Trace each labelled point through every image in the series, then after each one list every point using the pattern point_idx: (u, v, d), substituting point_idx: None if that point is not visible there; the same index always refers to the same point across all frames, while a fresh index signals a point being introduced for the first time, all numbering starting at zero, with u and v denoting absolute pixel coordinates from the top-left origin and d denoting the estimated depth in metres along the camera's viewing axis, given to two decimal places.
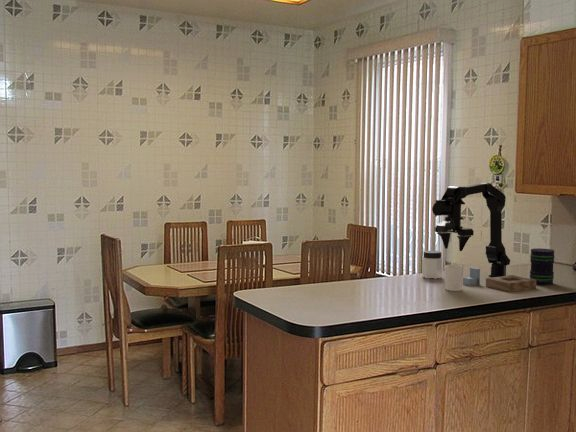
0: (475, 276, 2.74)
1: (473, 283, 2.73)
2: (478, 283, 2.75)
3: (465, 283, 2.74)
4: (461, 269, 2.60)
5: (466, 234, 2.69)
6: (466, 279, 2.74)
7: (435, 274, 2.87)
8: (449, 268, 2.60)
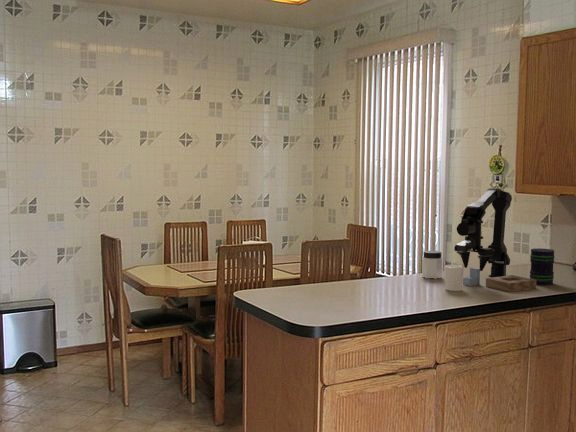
0: (475, 276, 2.74)
1: (473, 283, 2.73)
2: (478, 283, 2.75)
3: (465, 283, 2.74)
4: (461, 269, 2.60)
5: (487, 254, 2.66)
6: (466, 279, 2.74)
7: (435, 274, 2.87)
8: (449, 268, 2.60)
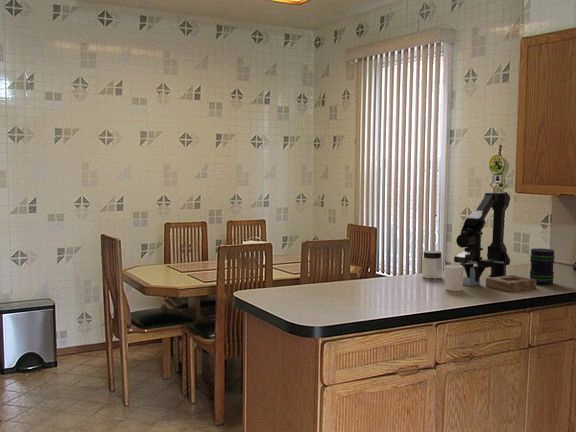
0: None
1: (473, 283, 2.73)
2: (478, 283, 2.75)
3: (465, 283, 2.74)
4: (461, 269, 2.60)
5: (486, 266, 2.66)
6: (466, 279, 2.74)
7: (435, 274, 2.87)
8: (449, 268, 2.60)
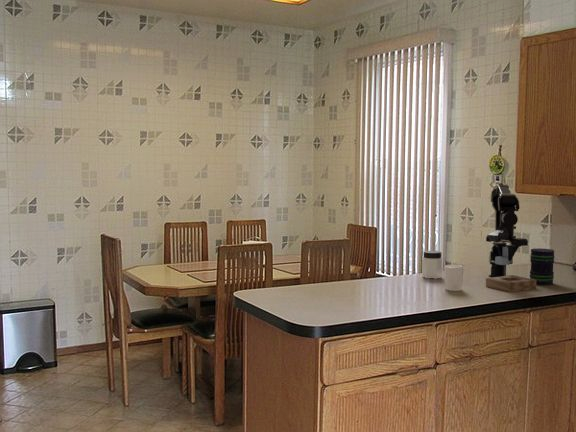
0: None
1: (506, 262, 2.67)
2: (511, 262, 2.68)
3: (497, 262, 2.68)
4: (461, 269, 2.60)
5: (520, 244, 2.60)
6: (499, 258, 2.67)
7: (435, 274, 2.87)
8: (449, 268, 2.60)
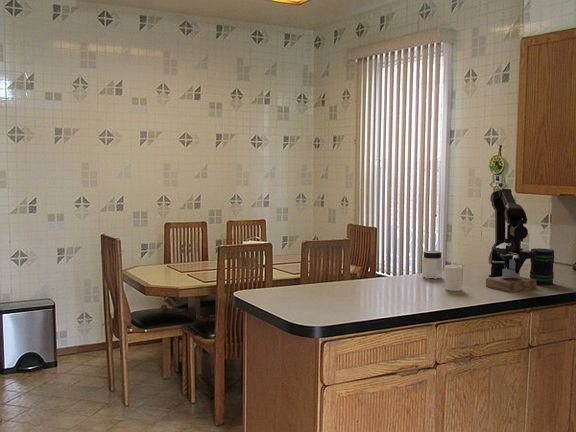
0: None
1: (513, 275, 2.66)
2: (518, 275, 2.68)
3: (505, 275, 2.67)
4: (461, 269, 2.60)
5: (528, 257, 2.59)
6: (506, 271, 2.67)
7: (435, 274, 2.87)
8: (449, 268, 2.60)
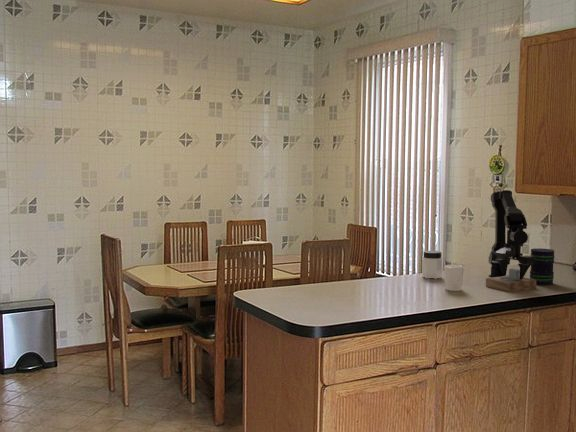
0: (515, 277, 2.68)
1: None
2: None
3: None
4: (461, 269, 2.60)
5: (528, 262, 2.59)
6: None
7: (435, 274, 2.87)
8: (449, 268, 2.60)
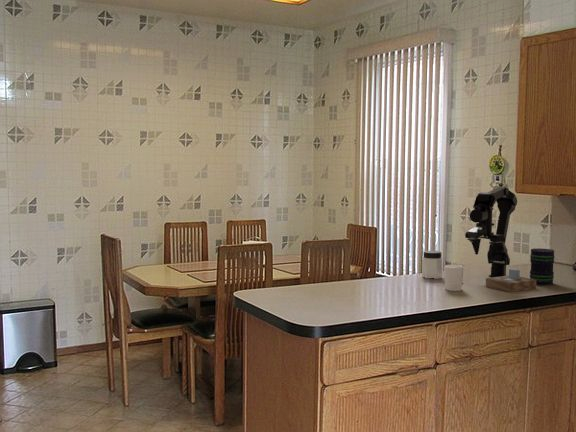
0: (515, 277, 2.68)
1: None
2: None
3: None
4: (461, 269, 2.60)
5: (498, 240, 2.69)
6: None
7: (435, 274, 2.87)
8: (449, 268, 2.60)
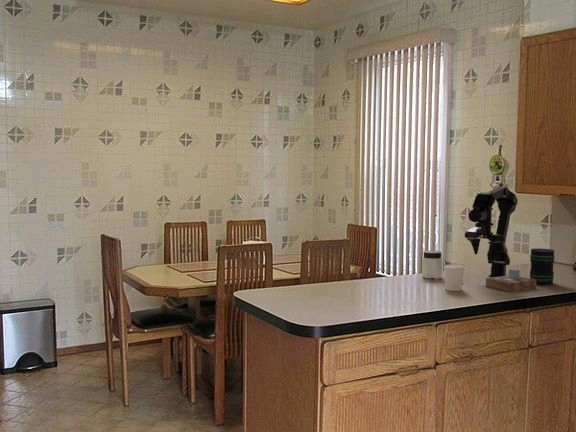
0: (515, 277, 2.68)
1: None
2: None
3: None
4: (461, 269, 2.60)
5: (497, 240, 2.69)
6: None
7: (435, 274, 2.87)
8: (449, 268, 2.60)
